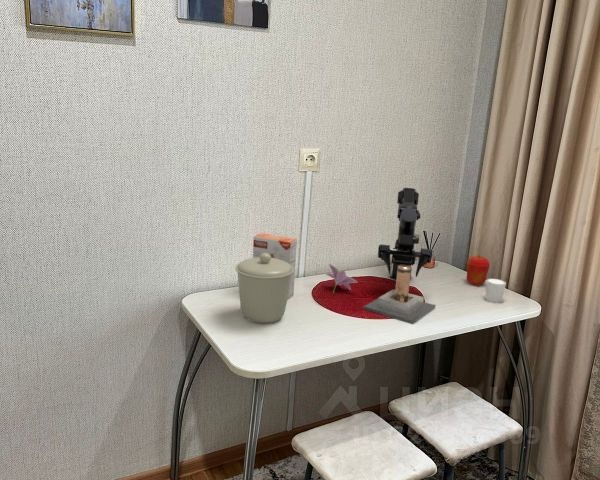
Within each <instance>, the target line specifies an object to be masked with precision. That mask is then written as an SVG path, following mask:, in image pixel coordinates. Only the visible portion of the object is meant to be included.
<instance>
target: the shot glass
mask: <svg viewBox="0 0 600 480" xmlns="http://www.w3.org/2000/svg"><path fill="white" fill-rule="evenodd" d="M506 286H507V282H506V281H504V280H502V279H498V278H486V280H485V297H484V298H485V299H484V300H486V301H488V302H490V301H491V303H501V302H502V301H503V297H504V293H505V289H506Z"/></svg>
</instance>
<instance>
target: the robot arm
mask: <svg viewBox="0 0 600 480" xmlns="http://www.w3.org/2000/svg"><path fill="white" fill-rule="evenodd" d="M419 196H420V194H419V192H417V191H416V188H412V187H403V188H402V190H399V191H398V192H397V200H396V201H397V202H396V203H397V204H398V207H397V217H396V218H397V219H398V222H399V223H398V224H399V225H398V232H397V239H396V240H395V243H394V247H393V248H391V247H390V246H391V245H390V244H379V245H378V250H377V258H379V259H380V260H381V261H383V262H384V264H385V266H386V269H387V272H388V274H389V275H390V276H389V278H390V279H395V280H396V279H397V268H398V265H409V266H411V272H412V270H413V269H412V266H414V265H415V264H416V258H418V261H417V266H416V270H415V277H416V278H417V277H418V275H419V273H420V271H421V269H422V267H423V266H426V265H427V264H430V263H431V262H432V259H433V250H432V249H431V248H420V251H415V244H416V245H418V244H419V243H420V234H416V233H415V231H416V224H417V221H419V219H420V220H421V213H420V210H419V209H418V205H419V199H420V198H419ZM391 264H392V265H391ZM391 266H392V271H391ZM411 278H412V273H411V274H410V279H411Z"/></svg>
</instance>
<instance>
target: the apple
mask: <svg viewBox="0 0 600 480" xmlns="http://www.w3.org/2000/svg"><path fill="white" fill-rule="evenodd" d="M489 268H490V261H489V260H488V259H487V257H483V256H482V255H481V254H479V255H478V256H477V255H476V256H472V257H469V259H468V260H467V261H466V281H468V283H469V284H472V285H473V286H481V285H483V284H484V283H486V280H487V275H488V272H489Z"/></svg>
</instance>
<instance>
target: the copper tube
mask: <svg viewBox="0 0 600 480" xmlns="http://www.w3.org/2000/svg"><path fill="white" fill-rule="evenodd" d="M411 268H412V265H411V266H409V265H398V268H397V279H395V280H396V281H395V298H394V299H395V300H398V301H402V302H405V303H406V302H407V301H408V293H409V290H410V282H411V278H410V274H411V275H412V271H411Z"/></svg>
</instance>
